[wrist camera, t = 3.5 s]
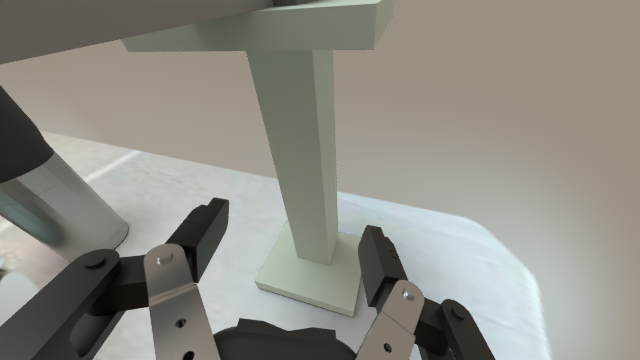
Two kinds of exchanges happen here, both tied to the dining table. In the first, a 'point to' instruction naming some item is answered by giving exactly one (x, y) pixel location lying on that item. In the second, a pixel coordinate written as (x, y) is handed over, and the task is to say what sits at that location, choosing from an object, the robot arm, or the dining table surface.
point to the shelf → (296, 129)
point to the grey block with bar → (104, 21)
